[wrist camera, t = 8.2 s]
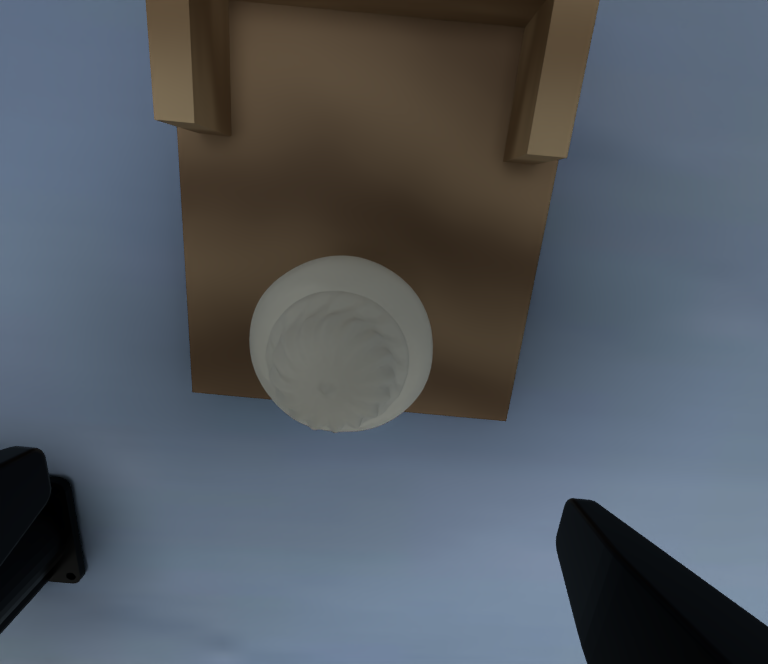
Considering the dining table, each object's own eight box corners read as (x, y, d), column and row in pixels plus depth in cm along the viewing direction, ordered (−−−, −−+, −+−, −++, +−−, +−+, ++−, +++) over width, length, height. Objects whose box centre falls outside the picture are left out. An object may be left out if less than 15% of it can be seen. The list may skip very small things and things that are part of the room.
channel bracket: (501, 412, 20) (525, 461, 16) (200, 384, 20) (156, 427, 16) (582, 1, 15) (643, -63, 11) (178, -37, 15) (107, -113, 11)
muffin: (455, 293, 17) (494, 353, 10) (380, 411, 19) (372, 528, 12) (319, 215, 16) (266, 224, 10) (253, 344, 18) (169, 430, 11)
